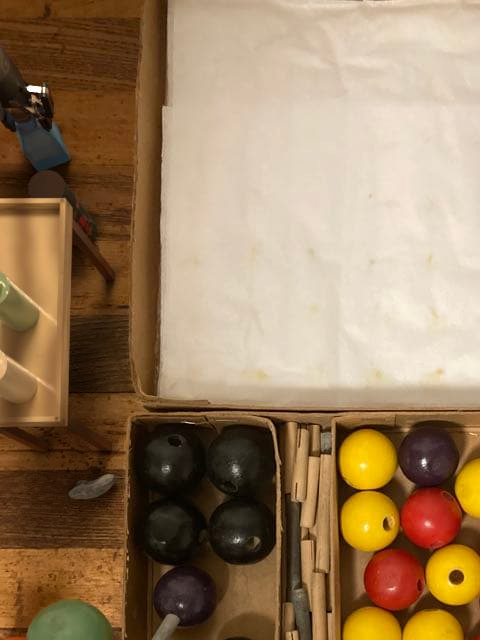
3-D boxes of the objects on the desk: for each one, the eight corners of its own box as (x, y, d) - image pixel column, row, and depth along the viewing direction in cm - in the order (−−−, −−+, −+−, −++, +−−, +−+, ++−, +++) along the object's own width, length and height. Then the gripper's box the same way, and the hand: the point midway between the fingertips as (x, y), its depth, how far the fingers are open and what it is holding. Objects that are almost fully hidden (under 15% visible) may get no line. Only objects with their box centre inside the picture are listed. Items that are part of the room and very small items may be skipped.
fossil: (116, 471, 147) (107, 466, 142) (123, 489, 146) (114, 485, 142) (71, 488, 146) (60, 484, 141) (78, 507, 146) (67, 503, 141)
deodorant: (60, 242, 150) (24, 201, 136) (67, 211, 151) (32, 166, 136) (93, 249, 150) (60, 208, 136) (100, 217, 151) (68, 173, 136)
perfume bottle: (58, 129, 152) (31, 88, 141) (70, 159, 152) (43, 120, 140) (26, 141, 152) (-5, 101, 140) (38, 172, 152) (8, 133, 140)
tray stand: (34, 455, 147) (-38, 422, 122) (40, 268, 150) (-30, 198, 125) (115, 455, 147) (59, 421, 122) (118, 267, 150) (65, 197, 125)
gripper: (32, 38, 128) (73, 106, 145) (-63, 39, 128) (-10, 106, 145) (31, 85, 128) (73, 147, 145) (-65, 85, 127) (-12, 148, 144)
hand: (31, 126), depth 145 cm, fingers closed on perfume bottle, 5 cm apart
